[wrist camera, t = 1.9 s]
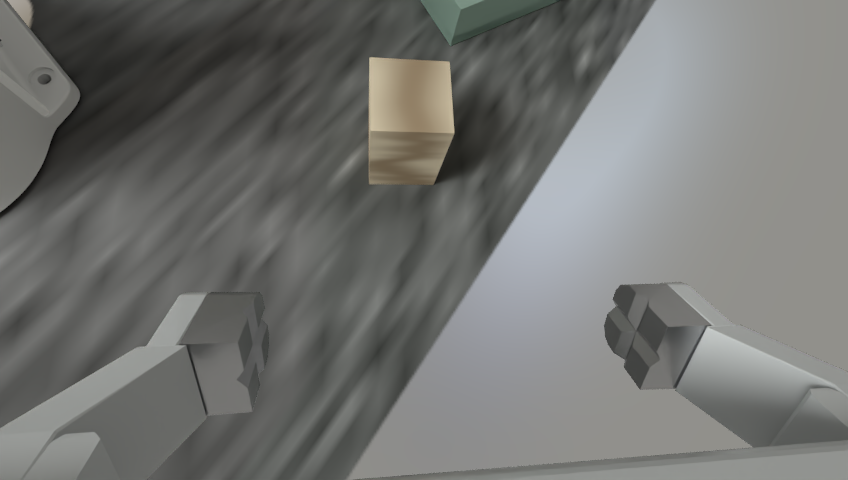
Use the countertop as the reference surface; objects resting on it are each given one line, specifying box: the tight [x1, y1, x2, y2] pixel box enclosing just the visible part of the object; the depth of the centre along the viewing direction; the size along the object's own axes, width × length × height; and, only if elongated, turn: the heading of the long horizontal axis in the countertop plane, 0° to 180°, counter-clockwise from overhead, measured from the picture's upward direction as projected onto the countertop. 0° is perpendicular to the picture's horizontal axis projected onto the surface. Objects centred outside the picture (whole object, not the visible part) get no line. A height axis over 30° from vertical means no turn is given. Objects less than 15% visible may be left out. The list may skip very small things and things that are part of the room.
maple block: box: [368, 57, 454, 185], centre depth 29 cm, size 5×5×8 cm
